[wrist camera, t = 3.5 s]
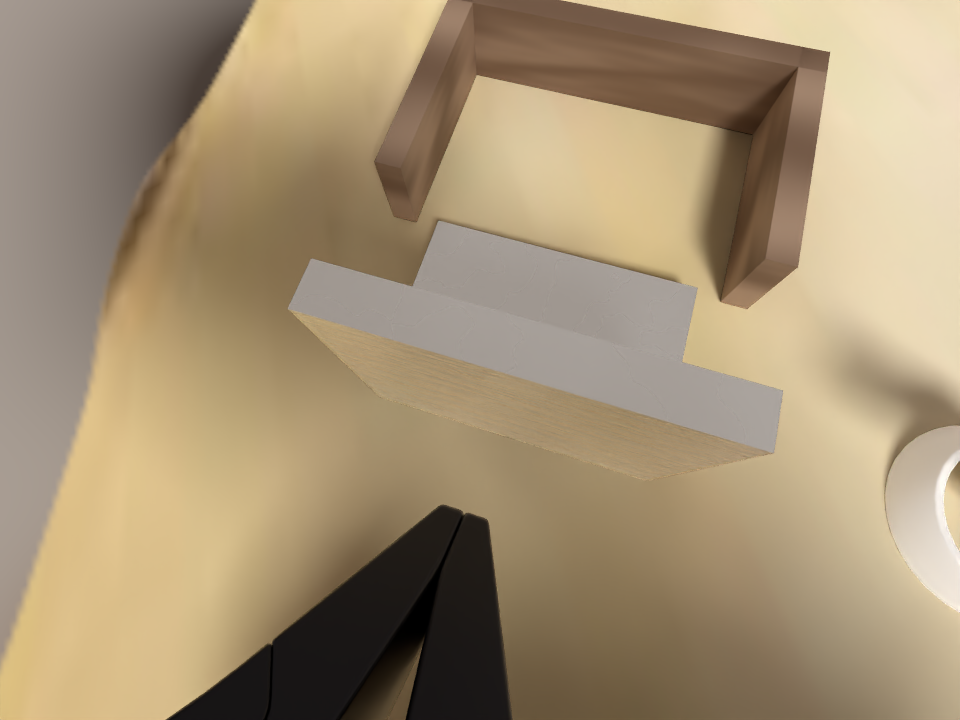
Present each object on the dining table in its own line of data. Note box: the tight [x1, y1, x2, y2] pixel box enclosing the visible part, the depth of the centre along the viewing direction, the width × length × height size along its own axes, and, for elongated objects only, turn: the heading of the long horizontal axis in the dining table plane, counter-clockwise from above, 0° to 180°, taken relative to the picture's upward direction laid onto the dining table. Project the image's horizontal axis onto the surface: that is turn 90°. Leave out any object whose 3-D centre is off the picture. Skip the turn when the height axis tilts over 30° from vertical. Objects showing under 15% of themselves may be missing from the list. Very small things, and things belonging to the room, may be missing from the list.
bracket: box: [288, 220, 783, 481], centre depth 18 cm, size 8×12×10 cm
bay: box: [375, 0, 830, 309], centre depth 23 cm, size 11×17×4 cm, turn 72°
